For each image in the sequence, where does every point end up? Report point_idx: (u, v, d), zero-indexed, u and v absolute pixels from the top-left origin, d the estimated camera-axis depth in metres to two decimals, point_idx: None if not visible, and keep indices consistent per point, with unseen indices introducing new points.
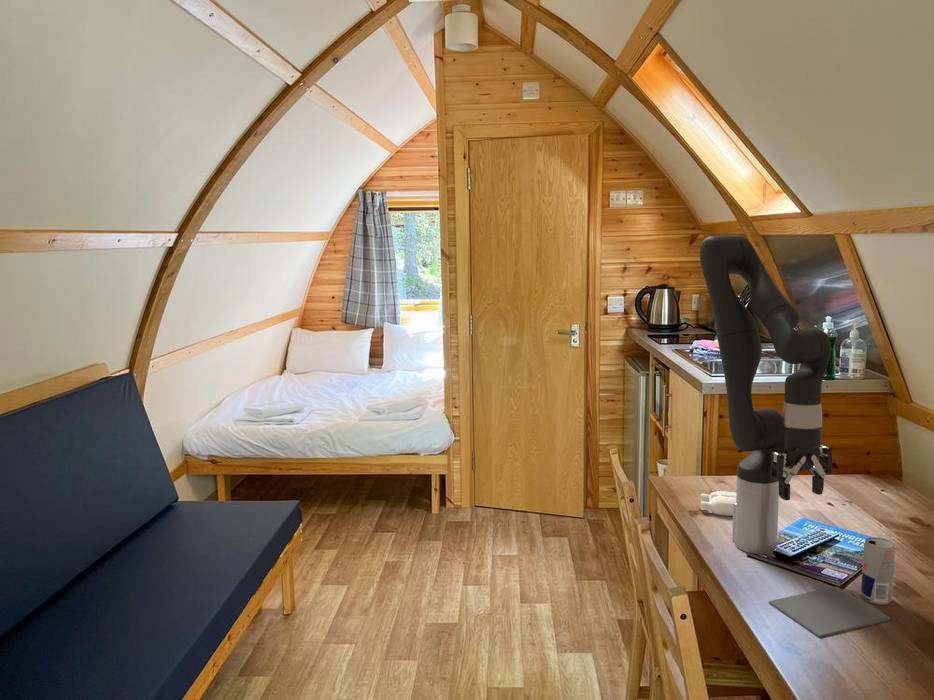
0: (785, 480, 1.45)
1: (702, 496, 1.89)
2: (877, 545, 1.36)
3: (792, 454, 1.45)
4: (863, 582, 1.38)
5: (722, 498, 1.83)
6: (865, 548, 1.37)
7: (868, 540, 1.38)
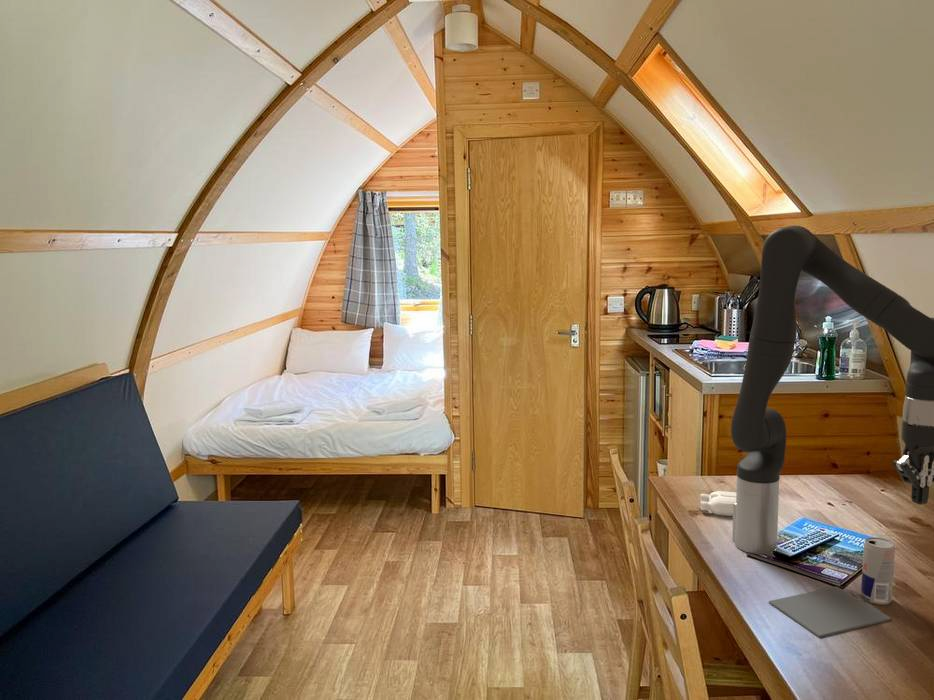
0: (921, 483, 1.36)
1: (702, 496, 1.89)
2: (877, 545, 1.36)
3: (913, 454, 1.35)
4: (863, 582, 1.38)
5: (722, 498, 1.83)
6: (865, 548, 1.37)
7: (868, 540, 1.38)
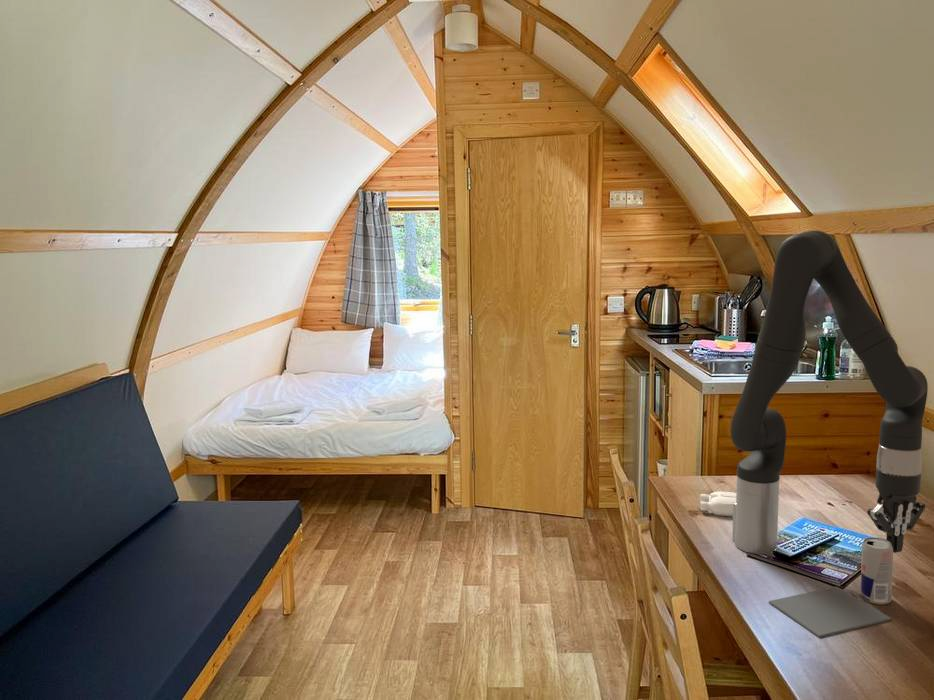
0: (895, 532, 1.36)
1: (702, 496, 1.89)
2: (875, 546, 1.36)
3: (887, 504, 1.34)
4: (862, 582, 1.38)
5: (722, 498, 1.83)
6: (863, 549, 1.37)
7: (866, 541, 1.38)
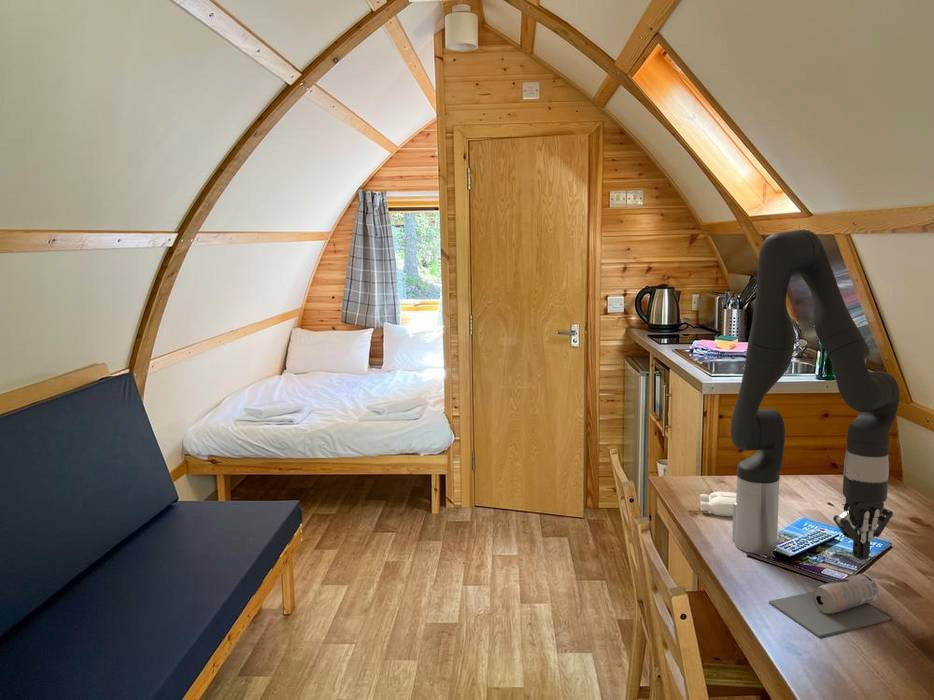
0: (861, 539, 1.34)
1: (701, 497, 1.89)
2: (825, 605, 1.33)
3: (853, 510, 1.32)
4: None
5: (722, 499, 1.82)
6: None
7: (815, 598, 1.35)
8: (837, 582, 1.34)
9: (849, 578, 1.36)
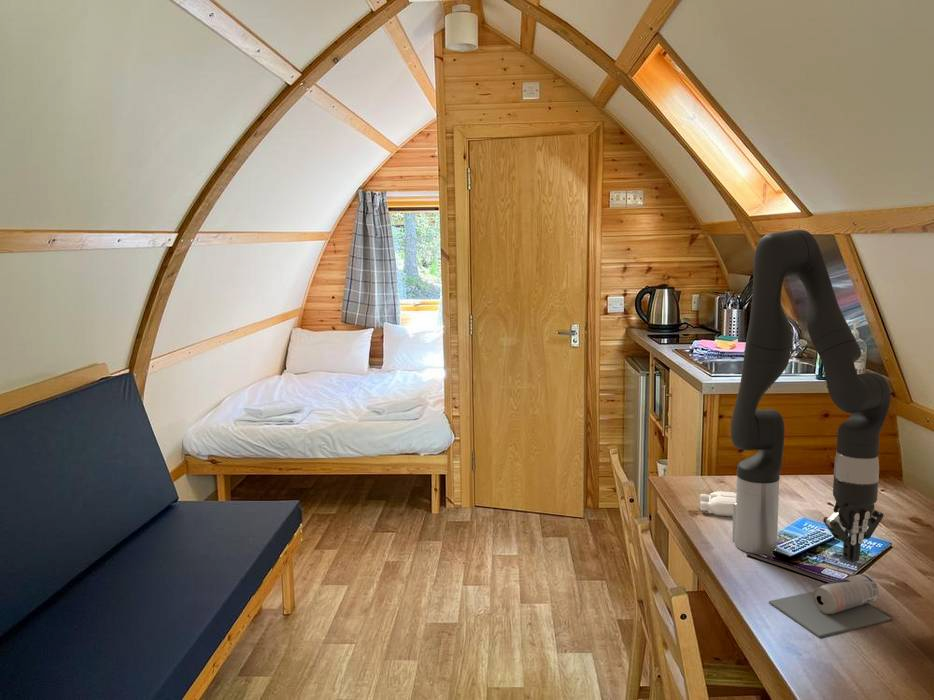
0: (851, 541, 1.33)
1: (701, 496, 1.89)
2: (825, 606, 1.33)
3: (843, 512, 1.31)
4: None
5: (722, 498, 1.83)
6: None
7: (815, 598, 1.35)
8: (838, 582, 1.34)
9: (850, 578, 1.36)
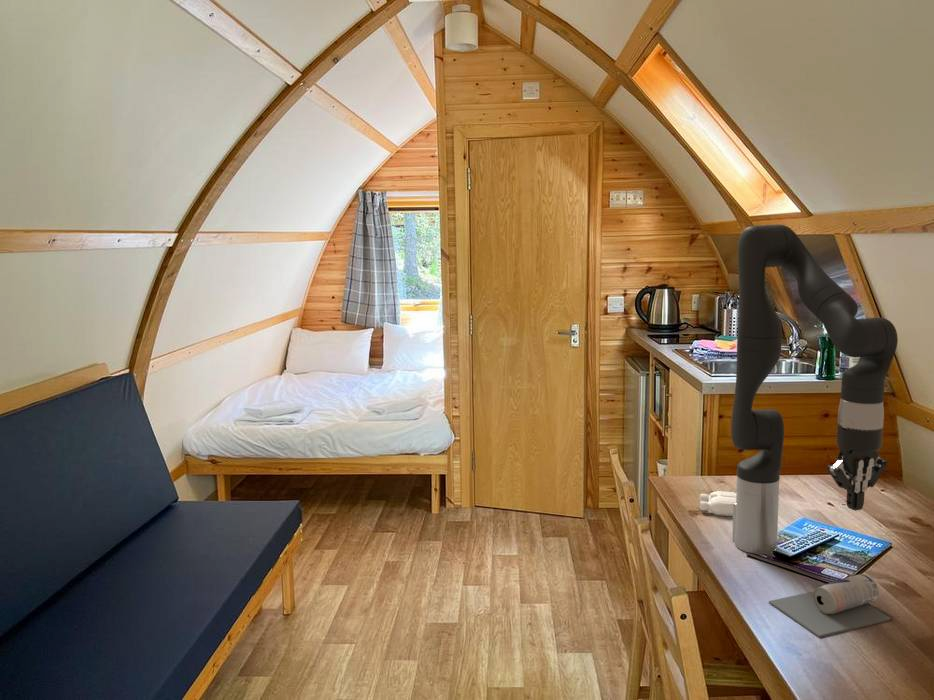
0: (855, 489, 1.31)
1: (702, 496, 1.89)
2: (825, 606, 1.33)
3: (847, 459, 1.30)
4: None
5: (721, 498, 1.83)
6: None
7: (815, 598, 1.35)
8: (838, 582, 1.34)
9: (850, 578, 1.36)
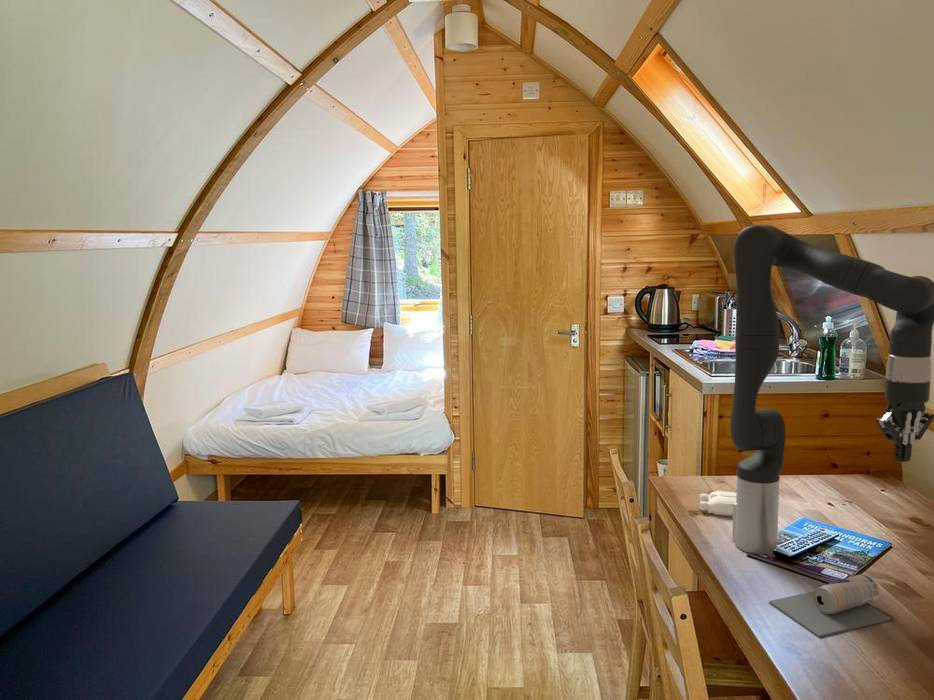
0: (903, 441, 1.37)
1: (702, 496, 1.89)
2: (825, 606, 1.33)
3: (896, 412, 1.36)
4: None
5: (721, 498, 1.83)
6: None
7: (815, 598, 1.35)
8: (838, 583, 1.34)
9: (850, 579, 1.35)
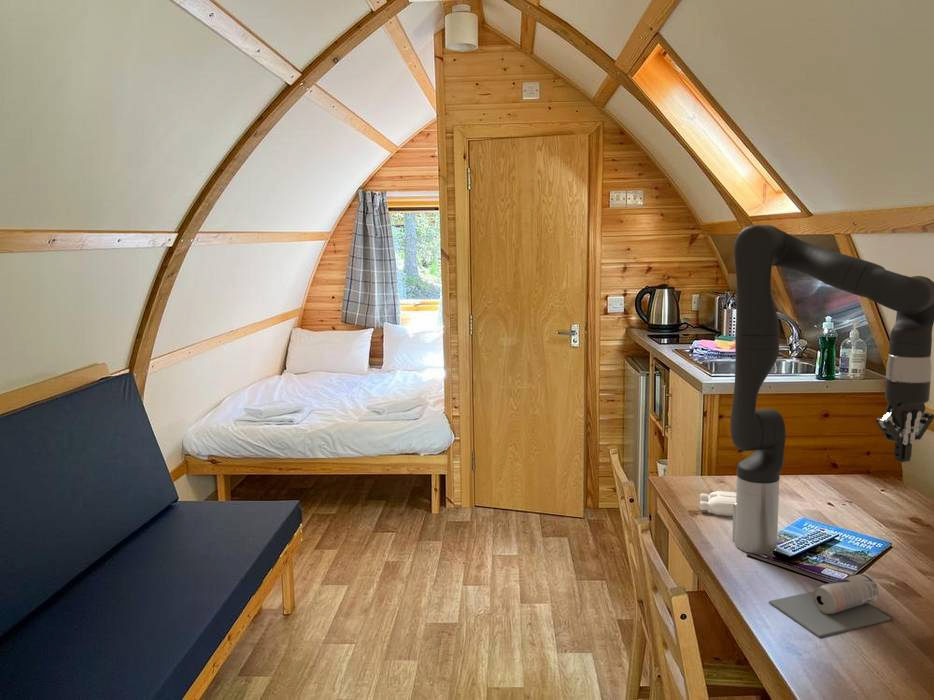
0: (903, 441, 1.37)
1: (702, 496, 1.89)
2: (825, 606, 1.33)
3: (896, 412, 1.36)
4: None
5: (721, 498, 1.83)
6: None
7: (815, 598, 1.35)
8: (838, 582, 1.34)
9: (850, 578, 1.36)
